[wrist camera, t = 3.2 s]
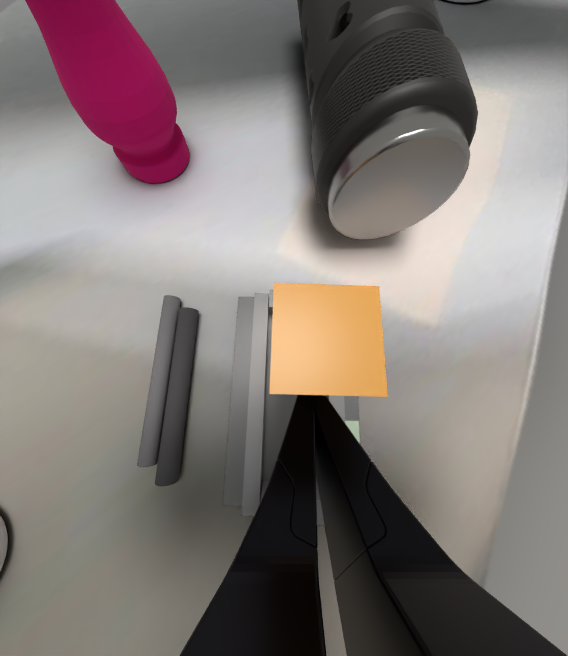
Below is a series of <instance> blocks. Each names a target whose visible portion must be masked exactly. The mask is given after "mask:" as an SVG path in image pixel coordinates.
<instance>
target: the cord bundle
mask: <svg viewBox="0 0 568 656" xmlns="http://www.w3.org/2000/svg"><path fill="white" fill-rule="evenodd" d="M180 300H181V299H180V298H178V297H175V296H169V295H167V296H164V300H163V306H162V312H161V318H160V325H159V331H158V337H157V344H156V350H155V356H154V363H153V369H152V375H151V382H150V388H149V394H148V400H147V407H146V413H145V419H144V426H143V432H142V438H141V445H140V451H139V457H138V463H137V466H139V467H148V466H152V465H155V464H156V463H158V465H157V472H156V479H155V485H157V486H168V485H171V484H174V483H175V482H177V481H178V479H179V471H180V463H181V455H182V446H183V438H184V429H185V421H186V413H187V404H188V396H189V387H190V379H191V370H192V362H193V354H194V345H195V337H196V328H197V320H198V312H199V311H198V310H196V309H193V308H179V307H180ZM174 343H175V344H174ZM173 350H174V351H173ZM172 357H173V358H172ZM167 393H168V394H167ZM166 400H167V401H166ZM165 407H166V408H165ZM161 436H162V437H161ZM160 443H161V444H160ZM159 450H160V451H159Z"/></svg>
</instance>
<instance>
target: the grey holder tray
mask: <svg viewBox="0 0 568 656" xmlns="http://www.w3.org/2000/svg"><path fill="white" fill-rule="evenodd" d="M273 291H274V290H270V297H269V294H258V293H255V297H238V310H237V323H236V336H235V349H234V362H233V375H232V388H231V401H230V414H229V427H228V440H227V453H226V466H225V479H224V492H223V505H222V506H242V516H254V515H255V513H256V511H257V509H258V507H259V505H260V502H261V500H262V498H263V495H264V493H265V491H266V488H267V486H268V483H269V480H270V477H271V475H272V472H273V469H274V466H275V463H276V460H277V457H278V454H279V451H280V447H281V444H282V441H283V438H284V435H285V432H286V429H287V426H288V423H289V420H290V417H291V413H292V410H293V407H294V404H295V401H296V398H297V395H294V394H270V392H269V381H270V355H271V330H272V317H273ZM326 397H327V398H328V400H329V401H330V402H331V404H332V405H333V407H334V408H335V409H336V411H337V412H338V414H339V415H340V417H341V418H342V419H343V421H344V422H345V424H346V425H347V426H348V428H349V429H350V431H351V432H352V434H353V435H354V436H355V438H356V439H357V441H358V442H359V443H360V428H359V407H358V396H337V395H326ZM316 500H317V525H324V519H323V513H322V507H321V502H320V496H319V490H318V484H317V478H316Z"/></svg>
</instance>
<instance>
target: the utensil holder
mask: <svg viewBox="0 0 568 656" xmlns="http://www.w3.org/2000/svg"><path fill="white" fill-rule="evenodd" d="M447 1H452V2H462V3H468V2H477V1H482V0H447Z"/></svg>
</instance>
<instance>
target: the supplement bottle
mask: <svg viewBox="0 0 568 656" xmlns="http://www.w3.org/2000/svg"><path fill="white" fill-rule="evenodd" d="M7 544H8V536H7V530H6V526H5V523H4V521H3V519H2V517H1V516H0V571H1V569H2V566H3V563H4V560H5V557H6V552H7Z"/></svg>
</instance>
